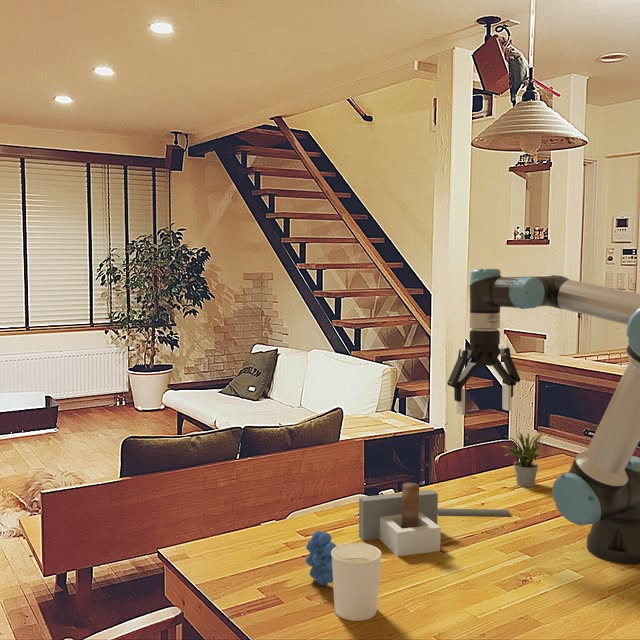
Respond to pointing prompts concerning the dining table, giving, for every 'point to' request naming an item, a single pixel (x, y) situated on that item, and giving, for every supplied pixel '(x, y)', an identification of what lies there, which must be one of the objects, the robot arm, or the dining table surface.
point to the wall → (390, 510)
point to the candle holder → (356, 580)
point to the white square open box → (409, 535)
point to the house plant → (525, 461)
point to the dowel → (410, 505)
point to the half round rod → (474, 512)
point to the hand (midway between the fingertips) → (484, 412)
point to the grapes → (320, 557)
